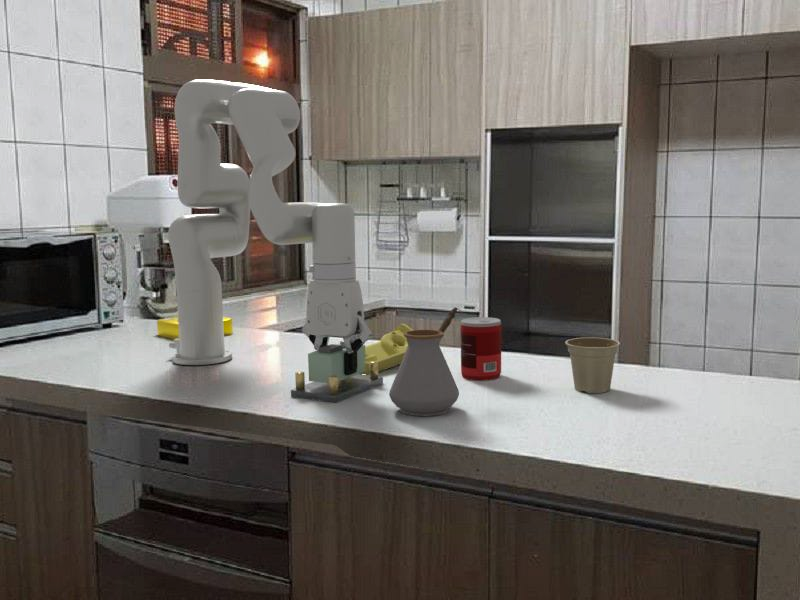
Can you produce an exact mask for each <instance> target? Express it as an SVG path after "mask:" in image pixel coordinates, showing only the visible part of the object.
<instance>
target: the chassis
mask: <svg viewBox="0 0 800 600" xmlns="http://www.w3.org/2000/svg"><path fill="white" fill-rule="evenodd" d="M369 364H370V375H361V374H357V375H354V376H352V377H349V378H346V379H344V380H341V381H339V382H338V376H329V383H321V382H313V381H311V382H309V383H307V384H305V381H306V380H305V371H296V372H295V373H294V374H295V375H294V376H295V378H294V379H295V388H293V389H290V397H291V398H292V397H293V398H298V399H306V400H312V399H314V400H315V401H319V400H320V401H319V402H328V403H334V404H336V402H337V403H339V402H342V401H343V399H344V400H346V399H348V397H349V398H350V397H353V396H355V394H356V395H358V394H361V393H363V392H365V391H367V389H368V390H371V389H373V388H375V387H377V385H378V386H380V385H382V384H384V378H383V376H379V372H378V361H370V362H369ZM381 383H382V384H381ZM379 384H380V385H379ZM374 386H375V387H374ZM372 387H373V388H372ZM362 391H363V392H362ZM360 392H361V393H360ZM357 393H358V394H357ZM314 400H313V401H314Z"/></svg>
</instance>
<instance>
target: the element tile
mask: <svg viewBox="0 0 800 600" xmlns="http://www.w3.org/2000/svg"><path fill="white" fill-rule="evenodd" d="M156 327H157V329H156V330H157V336H160V337H163V338H166V339H172V340H174V339H179V326H178V316H175V317H168V318H167V317H166V318H160V319H158V320H157V321H156ZM223 327H224V336H226V335H227V336H228V335H232V334H233V333H234V332H233V330H234V329H233V319H232V318H231V317H226V316H223Z"/></svg>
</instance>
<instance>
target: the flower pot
mask: <svg viewBox="0 0 800 600" xmlns="http://www.w3.org/2000/svg"><path fill="white" fill-rule="evenodd" d="M565 345H566V346H567V352H569V356H570V357H569V359H570V362H571V371H572V377H573V378H572V379H573V386H574V387H573V388H574V389H575V390H576V391H577V392H580V393H581V392H586V393H587V394H604V393H606V392H608V391H610V390H611V386H612V380H613V372H614V365H615V359H616V358H615V357H616V354H617V353H618V348H619V347H620V346H621V343H620V341H618V340H616V339H611V338H604V337H591V336H590V337H576V338H571V339H567V340H565Z"/></svg>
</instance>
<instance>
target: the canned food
mask: <svg viewBox="0 0 800 600" xmlns="http://www.w3.org/2000/svg"><path fill="white" fill-rule="evenodd" d="M501 320H502V319H500V318H498V317H491V316H490V317H487V316H486V317H485V316H477V317H467V318H462V319H461V320H460V368H461V369H460V373H461V377H462V378H464V379H466V380H468V381H469V380H470V381H477V382H478V381H494V380H496V379H498V378H500V376H501V373H502V321H501Z"/></svg>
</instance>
